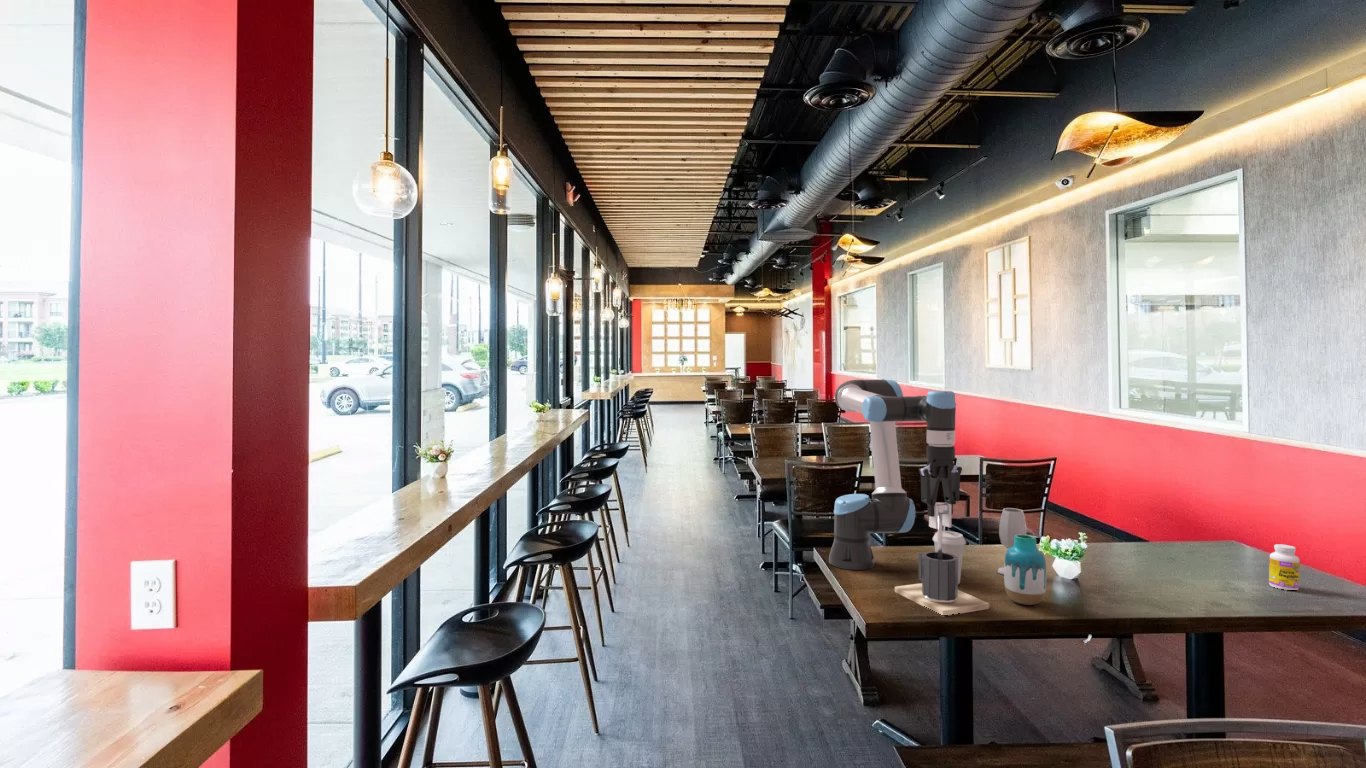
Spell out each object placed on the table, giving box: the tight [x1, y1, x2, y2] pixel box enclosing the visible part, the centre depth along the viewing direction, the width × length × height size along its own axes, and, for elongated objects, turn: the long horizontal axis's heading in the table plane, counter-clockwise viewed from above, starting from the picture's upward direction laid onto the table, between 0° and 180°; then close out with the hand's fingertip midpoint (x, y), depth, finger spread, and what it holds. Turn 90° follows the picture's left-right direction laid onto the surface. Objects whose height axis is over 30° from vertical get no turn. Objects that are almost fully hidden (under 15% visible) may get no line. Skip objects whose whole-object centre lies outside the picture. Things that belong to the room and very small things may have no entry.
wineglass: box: [997, 507, 1027, 576], centre depth 205 cm, size 9×9×21 cm
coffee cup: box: [932, 530, 966, 585], centre depth 198 cm, size 10×10×15 cm
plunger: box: [935, 501, 948, 560], centre depth 179 cm, size 6×6×21 cm
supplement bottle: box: [1268, 543, 1300, 591], centre depth 192 cm, size 7×7×13 cm
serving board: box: [894, 582, 990, 616], centre depth 182 cm, size 20×16×2 cm
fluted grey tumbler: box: [918, 550, 959, 604], centre depth 181 cm, size 12×9×12 cm
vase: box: [1003, 533, 1047, 606], centre depth 179 cm, size 11×11×19 cm
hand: (940, 526), depth 179 cm, fingers closed on plunger, 4 cm apart
